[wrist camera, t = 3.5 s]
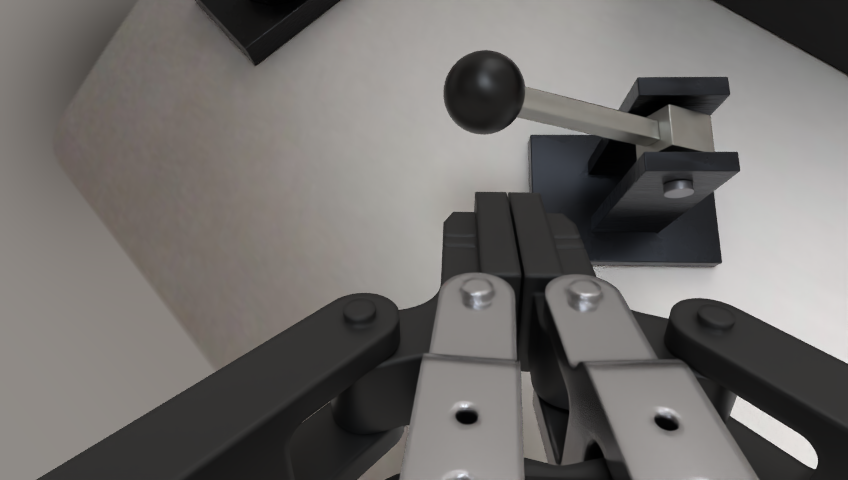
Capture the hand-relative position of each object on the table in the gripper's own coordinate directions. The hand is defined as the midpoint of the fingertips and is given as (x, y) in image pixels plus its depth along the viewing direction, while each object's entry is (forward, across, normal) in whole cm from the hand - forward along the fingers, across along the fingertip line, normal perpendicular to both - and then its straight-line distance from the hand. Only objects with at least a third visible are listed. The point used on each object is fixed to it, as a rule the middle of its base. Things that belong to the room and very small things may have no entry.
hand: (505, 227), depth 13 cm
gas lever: (+16, +4, -3) cm, 17 cm away
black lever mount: (+23, +10, -11) cm, 28 cm away
